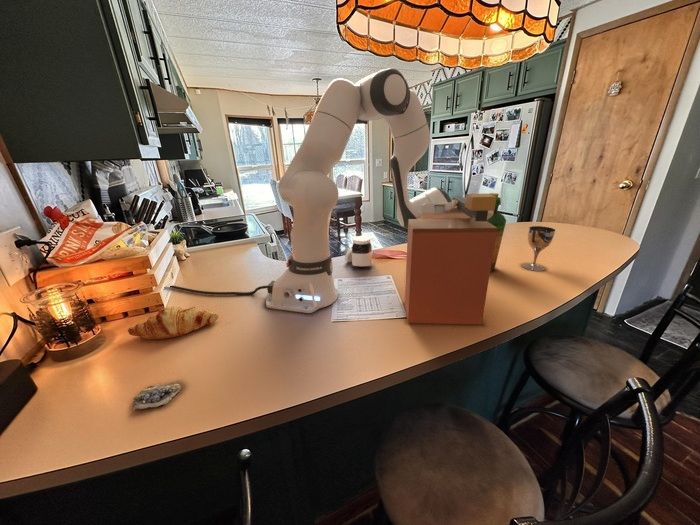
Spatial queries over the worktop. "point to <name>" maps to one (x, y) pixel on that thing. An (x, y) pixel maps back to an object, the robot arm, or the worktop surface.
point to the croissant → (172, 323)
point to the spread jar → (360, 253)
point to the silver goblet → (539, 243)
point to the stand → (448, 270)
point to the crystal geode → (156, 396)
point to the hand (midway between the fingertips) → (463, 202)
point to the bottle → (498, 222)
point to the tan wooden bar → (476, 205)
